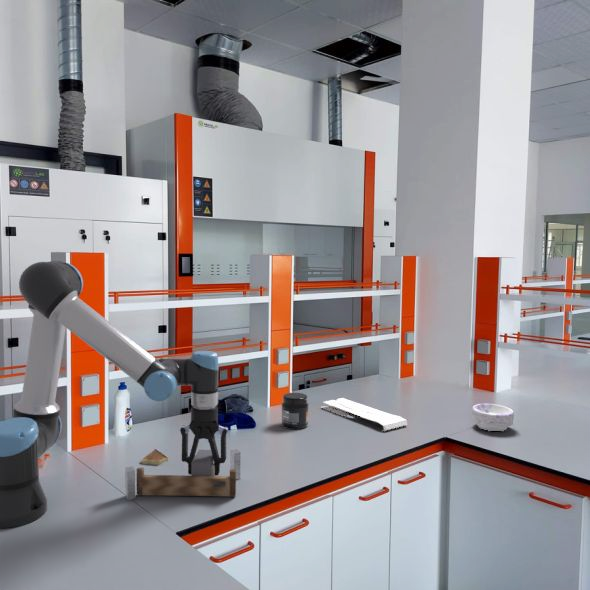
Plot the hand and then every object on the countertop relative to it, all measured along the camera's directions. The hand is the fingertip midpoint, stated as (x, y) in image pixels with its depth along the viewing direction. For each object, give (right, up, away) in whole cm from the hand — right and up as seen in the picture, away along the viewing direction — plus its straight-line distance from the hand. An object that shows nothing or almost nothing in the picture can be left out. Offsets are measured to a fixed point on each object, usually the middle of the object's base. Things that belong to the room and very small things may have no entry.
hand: (203, 485), depth 158 cm
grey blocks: (-6, 0, 0) cm, 6 cm away
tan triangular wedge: (-20, +1, +20) cm, 29 cm away
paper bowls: (+103, +2, +57) cm, 118 cm away
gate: (-4, 0, -6) cm, 7 cm away
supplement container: (+26, +3, +57) cm, 63 cm away
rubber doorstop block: (0, 0, 0) cm, 0 cm away
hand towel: (+54, +4, +70) cm, 88 cm away
